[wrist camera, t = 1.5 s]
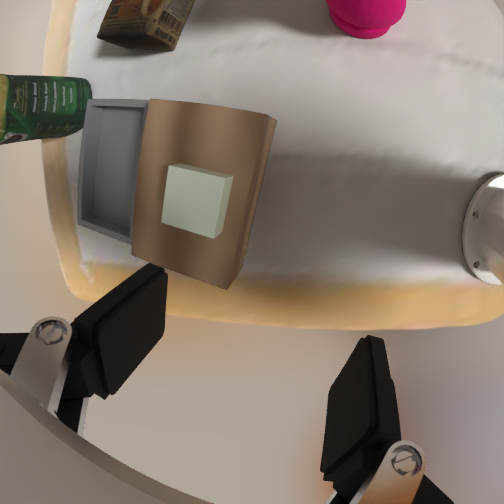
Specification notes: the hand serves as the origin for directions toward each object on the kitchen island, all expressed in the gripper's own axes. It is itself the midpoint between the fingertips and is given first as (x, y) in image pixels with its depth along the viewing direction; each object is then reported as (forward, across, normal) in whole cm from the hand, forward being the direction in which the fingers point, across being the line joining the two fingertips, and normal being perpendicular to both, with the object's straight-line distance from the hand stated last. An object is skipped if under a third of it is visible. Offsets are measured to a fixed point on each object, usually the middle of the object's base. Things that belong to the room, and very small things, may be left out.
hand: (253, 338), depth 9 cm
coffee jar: (+20, +33, -7) cm, 39 cm away
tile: (+15, +8, 0) cm, 17 cm away
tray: (+20, +22, 0) cm, 29 cm away
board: (+20, +10, 0) cm, 22 cm away
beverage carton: (+20, +20, -24) cm, 37 cm away
